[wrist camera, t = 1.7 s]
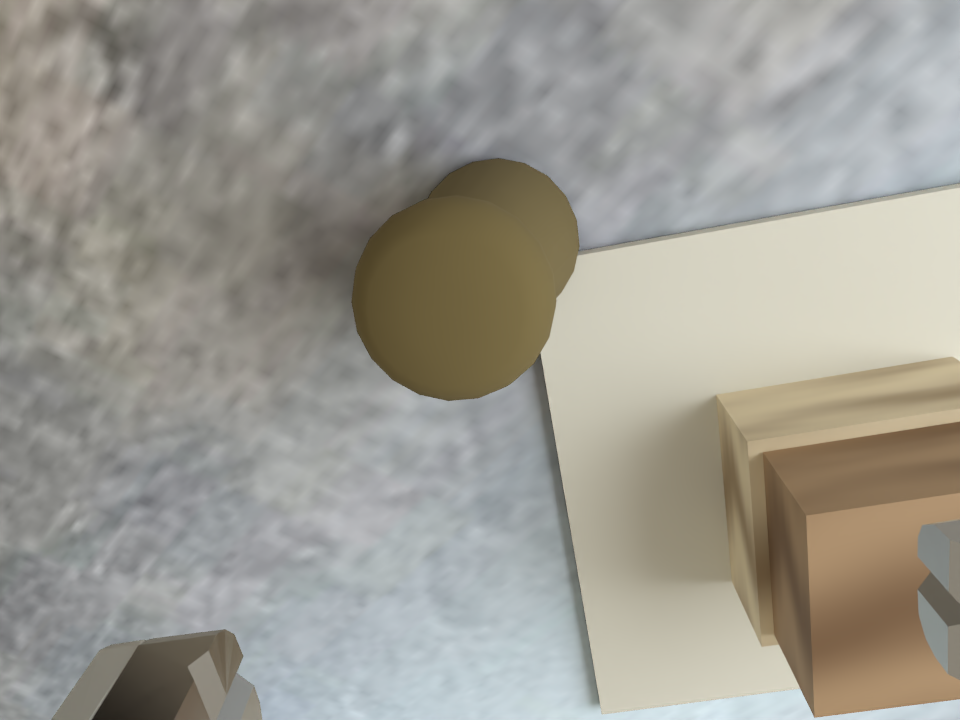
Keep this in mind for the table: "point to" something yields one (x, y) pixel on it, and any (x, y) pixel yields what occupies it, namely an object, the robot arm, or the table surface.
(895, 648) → the top block
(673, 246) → the felt mat
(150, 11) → the table surface
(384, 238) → the olive rounded upright piece
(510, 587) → the table surface
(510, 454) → the table surface
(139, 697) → the robot arm
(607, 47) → the table surface
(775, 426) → the bottom block
